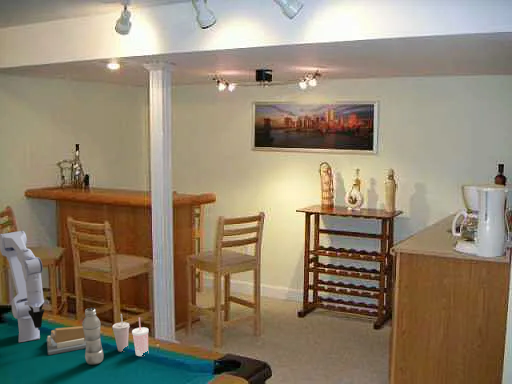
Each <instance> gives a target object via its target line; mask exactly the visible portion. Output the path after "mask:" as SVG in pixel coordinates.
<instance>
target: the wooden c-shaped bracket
mask: <svg viewBox="0 0 512 384" xmlns="http://www.w3.org/2000/svg"><path fill="white" fill-rule="evenodd" d="M50 336H51V338H52V339H53V340H54V342H55V343H59V342H65V341H70V340H76V339H82V338H84V340H85V335H84V331H83V326H82V325H81V326H80V325H79V326H72V327H71V326H70V327H67V326H66V327H57V328H54V329H53V330H51V331H50Z"/></svg>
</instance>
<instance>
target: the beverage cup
mask: <svg viewBox="0 0 512 384" xmlns="http://www.w3.org/2000/svg"><path fill="white" fill-rule="evenodd" d="M141 325H142V324H141V316H140V317H138V326H139V327H136V328H134V329H132V330H131V334H132V337H133V345H134V351H135V356H138V357H143V356H142V355H143V353H145V352H147V351H148V352H149V328H148V327H144V326H143V327H142V326H141Z"/></svg>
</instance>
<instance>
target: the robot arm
mask: <svg viewBox="0 0 512 384" xmlns="http://www.w3.org/2000/svg"><path fill="white" fill-rule="evenodd" d="M27 242H28V239H27V234H26V232H25V231H24V230H19V231H18V230H17V231H12V232H6V233H0V253H1V256H3V257H6V260H7V261H8V265H9V268H10V273H11V277H12V280H13V285H14V289H15V293H16V295H15V296H14V297H13V298H12V300H11V303H10V304H11V311H12V316H13V318H15V320H16V319H17V323H18V324H17V326H18V332H19V333H18V343H24V342H28V341H30V342H31V341H35V340H36V341H37V340H40V338H41V335H40V328H42V325H43V316H44V313H45V308H43V307H44V303H45V299H44V290H43V283H42V282H43V281H42V273H43V271H44V270H43V262H42V259H41V258H40V257H38V256H35V254H34V252H33V251H32V249H30V248H27Z"/></svg>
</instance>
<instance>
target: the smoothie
mask: <svg viewBox="0 0 512 384" xmlns="http://www.w3.org/2000/svg"><path fill="white" fill-rule="evenodd" d="M123 320H124V319H123V314H122V313H120V322H116V323H114V324H113V325H112V330H113V334H114V337H115V338H114V339H115V343H116V347H117V351H118V352H121V353H122V351H123V349H124V348H125V347H127V346H128V347H129V332H130V331H129V330H130V327H131V326H130V323H129V322H125V321H123ZM123 352H124V351H123Z"/></svg>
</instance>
